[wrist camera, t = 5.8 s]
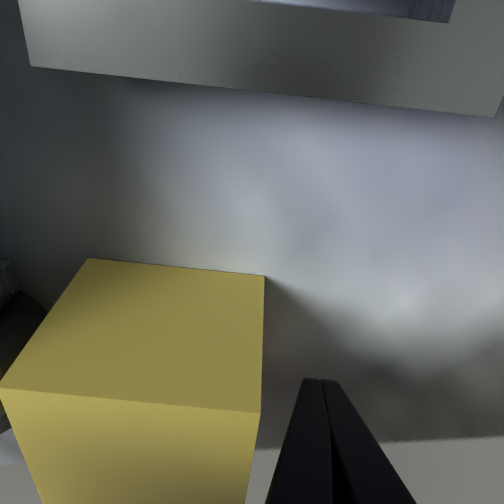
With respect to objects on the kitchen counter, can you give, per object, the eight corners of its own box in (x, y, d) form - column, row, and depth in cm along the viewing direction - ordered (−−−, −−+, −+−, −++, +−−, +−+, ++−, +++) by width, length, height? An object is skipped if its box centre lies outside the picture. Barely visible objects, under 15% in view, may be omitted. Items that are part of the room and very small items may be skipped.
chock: (264, 275, 9) (260, 413, 6) (248, 389, 11) (239, 530, 8) (87, 257, 9) (-4, 387, 6) (106, 375, 11) (46, 512, 8)
